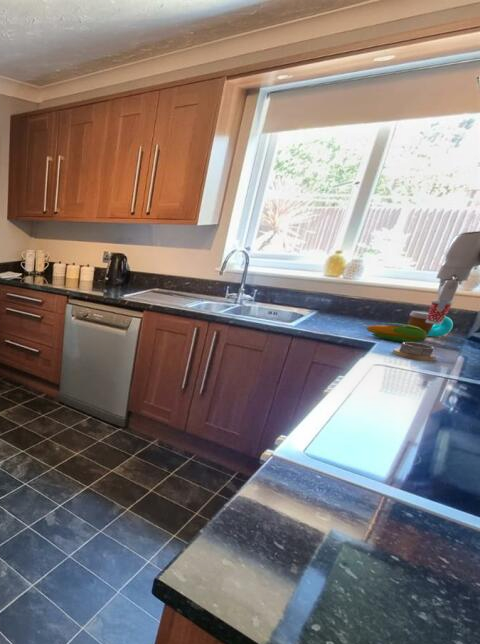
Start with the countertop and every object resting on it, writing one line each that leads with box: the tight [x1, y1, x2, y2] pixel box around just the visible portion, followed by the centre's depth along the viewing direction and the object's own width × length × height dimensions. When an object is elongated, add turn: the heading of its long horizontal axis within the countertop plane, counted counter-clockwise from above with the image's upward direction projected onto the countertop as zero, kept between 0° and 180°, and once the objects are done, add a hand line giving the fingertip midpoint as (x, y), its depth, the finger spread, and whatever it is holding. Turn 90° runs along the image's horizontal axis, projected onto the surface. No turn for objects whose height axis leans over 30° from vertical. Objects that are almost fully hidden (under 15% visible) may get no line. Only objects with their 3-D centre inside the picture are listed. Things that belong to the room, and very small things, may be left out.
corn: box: [365, 322, 428, 343], centre depth 188 cm, size 7×8×20 cm
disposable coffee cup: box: [406, 310, 434, 334], centre depth 191 cm, size 10×10×12 cm
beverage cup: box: [426, 299, 454, 324], centre depth 170 cm, size 6×6×14 cm
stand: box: [392, 342, 437, 362], centre depth 166 cm, size 12×12×4 cm
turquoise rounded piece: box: [427, 315, 454, 338], centre depth 199 cm, size 10×10×10 cm
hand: (438, 309), depth 171 cm, fingers closed on beverage cup, 6 cm apart
